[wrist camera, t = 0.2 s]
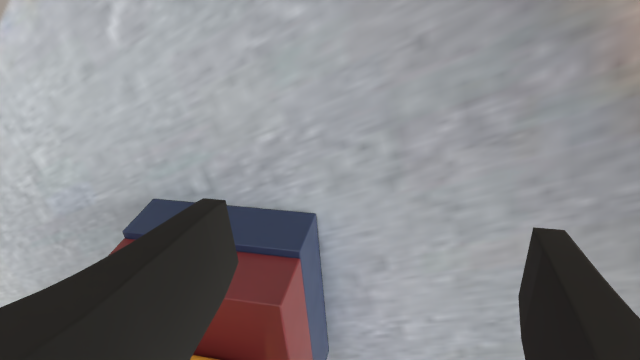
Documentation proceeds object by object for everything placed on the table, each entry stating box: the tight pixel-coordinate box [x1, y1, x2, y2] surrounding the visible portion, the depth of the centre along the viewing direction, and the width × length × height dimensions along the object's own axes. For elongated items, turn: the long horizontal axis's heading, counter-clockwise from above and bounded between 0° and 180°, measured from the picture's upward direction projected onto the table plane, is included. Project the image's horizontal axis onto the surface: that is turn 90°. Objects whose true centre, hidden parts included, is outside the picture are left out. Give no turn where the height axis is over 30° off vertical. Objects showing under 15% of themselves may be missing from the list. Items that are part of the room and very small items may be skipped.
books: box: [108, 199, 329, 360], centre depth 25 cm, size 11×10×6 cm
